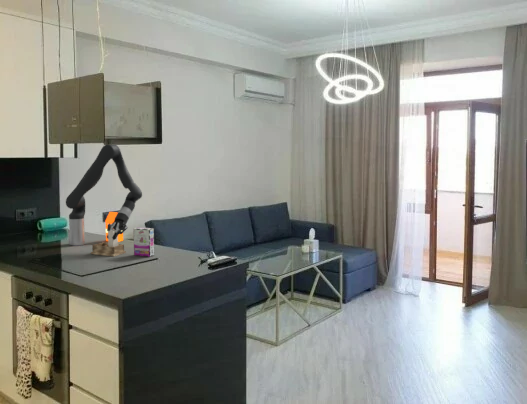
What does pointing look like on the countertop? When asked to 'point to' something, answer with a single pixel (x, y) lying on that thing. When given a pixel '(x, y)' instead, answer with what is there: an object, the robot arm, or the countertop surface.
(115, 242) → the clay bar
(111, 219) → the orange juice
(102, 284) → the countertop surface
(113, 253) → the brown woven basket
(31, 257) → the countertop surface
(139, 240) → the candy bar box
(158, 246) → the countertop surface
